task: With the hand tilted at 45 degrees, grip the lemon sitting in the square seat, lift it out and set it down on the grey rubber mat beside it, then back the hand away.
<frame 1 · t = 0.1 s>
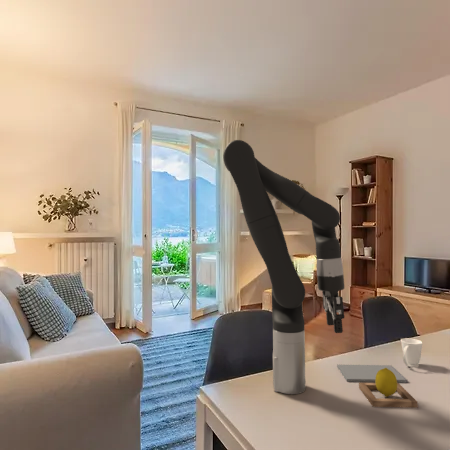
hand: (334, 328, 105), 17 cm above the table, tool pointing down, fingers open, 8 cm apart
square seat: (386, 397, 98), on the table
mat: (370, 374, 114), on the table
cup: (410, 366, 121), on the table
lemon: (386, 397, 98), resting in square seat
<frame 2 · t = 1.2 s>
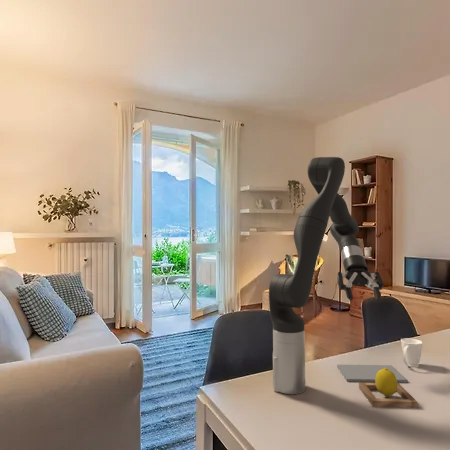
hand: (364, 299, 116), 24 cm above the table, tool tilted 45°, fingers open, 8 cm apart
nothing on the table moved.
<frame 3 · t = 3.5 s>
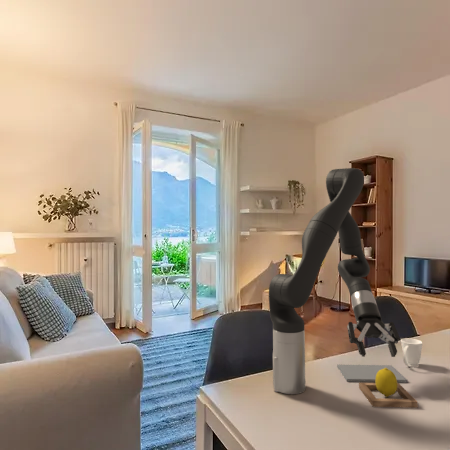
hand: (379, 355, 104), 10 cm above the table, tool tilted 45°, fingers open, 8 cm apart
nothing on the table moved.
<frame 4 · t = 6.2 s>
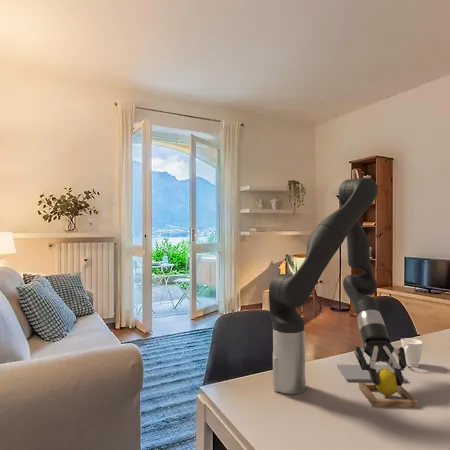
hand: (388, 384, 97), 4 cm above the table, tool tilted 45°, fingers closed on lemon, 5 cm apart
lemon: (386, 397, 98), resting in square seat, touching gripper
everything else where it was.
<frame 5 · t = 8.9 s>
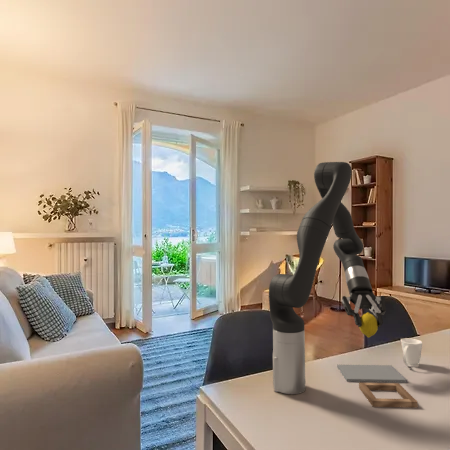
hand: (370, 325, 112), 16 cm above the table, tool tilted 45°, fingers closed on lemon, 5 cm apart
lemon: (368, 338, 113), point 12 cm above the table, touching gripper
everything else where it was.
when the fingers open (6 cm above the table, at t = 11.8 s): lemon drops 1 cm, resting on mat.
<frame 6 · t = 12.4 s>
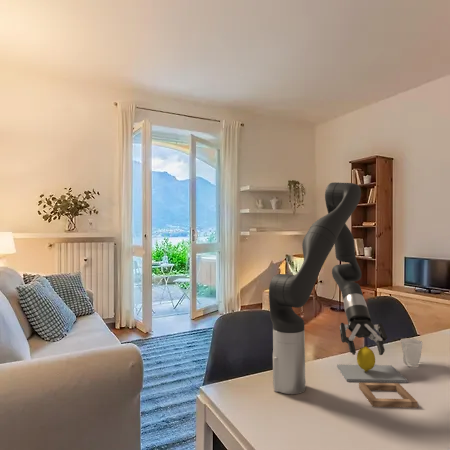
hand: (368, 353, 113), 7 cm above the table, tool tilted 45°, fingers open, 8 cm apart
lemon: (366, 372, 114), point 1 cm above the table, touching mat
everything else where it was.
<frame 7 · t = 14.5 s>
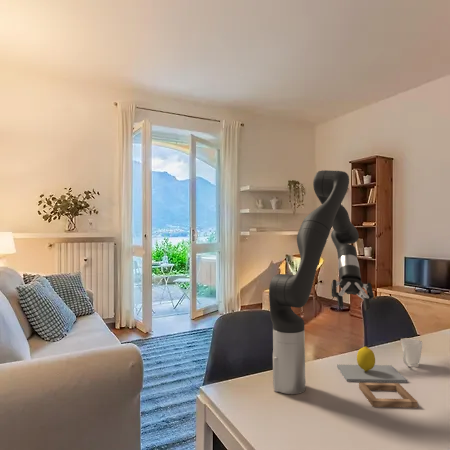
hand: (354, 308, 125), 19 cm above the table, tool tilted 40°, fingers open, 8 cm apart
nothing on the table moved.
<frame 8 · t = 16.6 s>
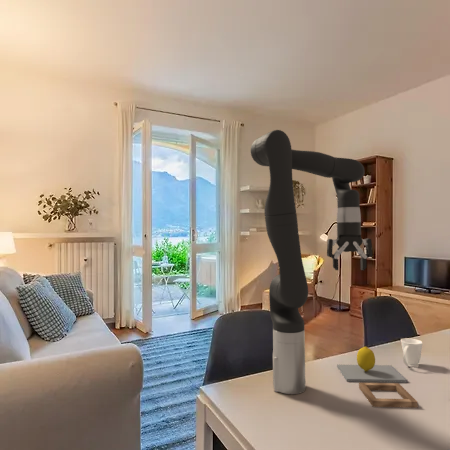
hand: (349, 270, 118), 33 cm above the table, tool pointing down, fingers open, 8 cm apart
nothing on the table moved.
at the end: lemon inside the target area on the mat (1.2 cm from its centre), point 0.6 cm above the mat's base; lemon moved 16.2 cm from its start; the gripper is holding nothing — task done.
